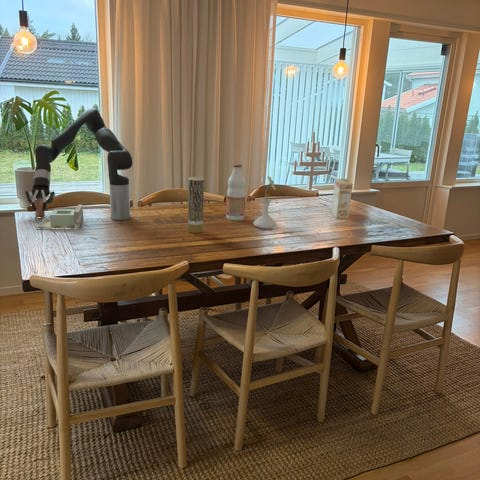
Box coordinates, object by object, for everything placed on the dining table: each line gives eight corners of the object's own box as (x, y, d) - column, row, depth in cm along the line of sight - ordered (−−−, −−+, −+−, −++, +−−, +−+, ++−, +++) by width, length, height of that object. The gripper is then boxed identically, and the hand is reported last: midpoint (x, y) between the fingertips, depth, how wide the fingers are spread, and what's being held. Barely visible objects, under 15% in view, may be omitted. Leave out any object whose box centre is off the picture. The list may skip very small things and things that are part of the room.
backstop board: (83, 220, 220) (82, 204, 218) (79, 228, 207) (78, 211, 205) (43, 221, 217) (42, 204, 215) (37, 229, 204) (35, 211, 201)
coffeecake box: (348, 219, 247) (353, 183, 241) (335, 218, 247) (339, 183, 241) (343, 212, 261) (347, 178, 255) (330, 212, 261) (334, 178, 256)
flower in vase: (274, 231, 218) (278, 179, 211) (251, 229, 220) (254, 177, 213) (278, 224, 230) (281, 175, 223) (255, 222, 232) (258, 173, 225)
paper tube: (203, 230, 215) (205, 177, 207) (201, 234, 208) (202, 179, 201) (189, 229, 215) (190, 176, 208) (186, 233, 209) (187, 178, 201)
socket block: (78, 219, 218) (77, 209, 217) (74, 225, 208) (74, 214, 207) (55, 219, 216) (54, 209, 214) (50, 225, 206) (49, 215, 205)
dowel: (45, 216, 225) (44, 199, 223) (43, 218, 221) (42, 201, 219) (36, 216, 224) (35, 199, 222) (34, 218, 221) (33, 201, 218)
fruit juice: (233, 221, 232) (236, 166, 223) (222, 217, 238) (224, 163, 230) (247, 219, 237) (250, 165, 229) (236, 215, 244) (238, 162, 236)
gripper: (58, 185, 232) (55, 214, 224) (28, 184, 229) (24, 214, 222) (55, 176, 226) (52, 206, 218) (24, 176, 223) (20, 206, 215)
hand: (38, 210), depth 220 cm, fingers closed on dowel, 4 cm apart
